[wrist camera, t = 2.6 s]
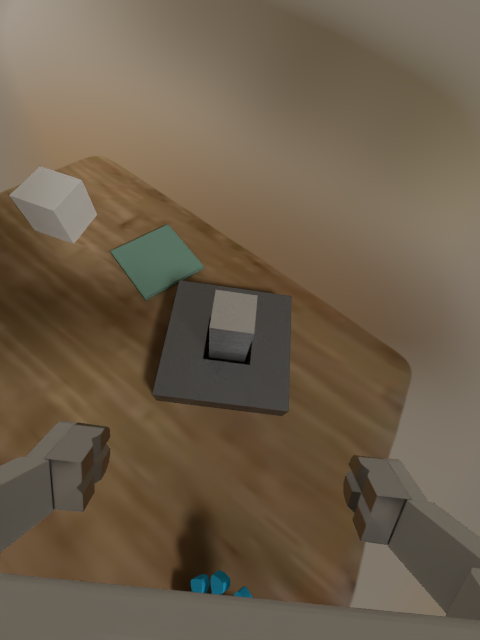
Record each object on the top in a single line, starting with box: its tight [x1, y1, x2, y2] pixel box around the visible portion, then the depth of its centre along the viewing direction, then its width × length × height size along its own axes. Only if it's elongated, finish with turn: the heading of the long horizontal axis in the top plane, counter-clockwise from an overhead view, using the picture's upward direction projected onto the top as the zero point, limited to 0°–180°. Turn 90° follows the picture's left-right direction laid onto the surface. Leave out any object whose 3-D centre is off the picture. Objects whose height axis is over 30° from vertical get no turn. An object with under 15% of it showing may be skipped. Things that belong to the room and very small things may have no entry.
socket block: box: [152, 280, 292, 416], centre depth 34 cm, size 14×14×3 cm
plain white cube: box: [9, 166, 97, 244], centre depth 39 cm, size 6×6×6 cm
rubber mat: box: [111, 225, 204, 300], centre depth 40 cm, size 9×9×1 cm
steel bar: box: [209, 290, 258, 364], centre depth 31 cm, size 4×4×10 cm
